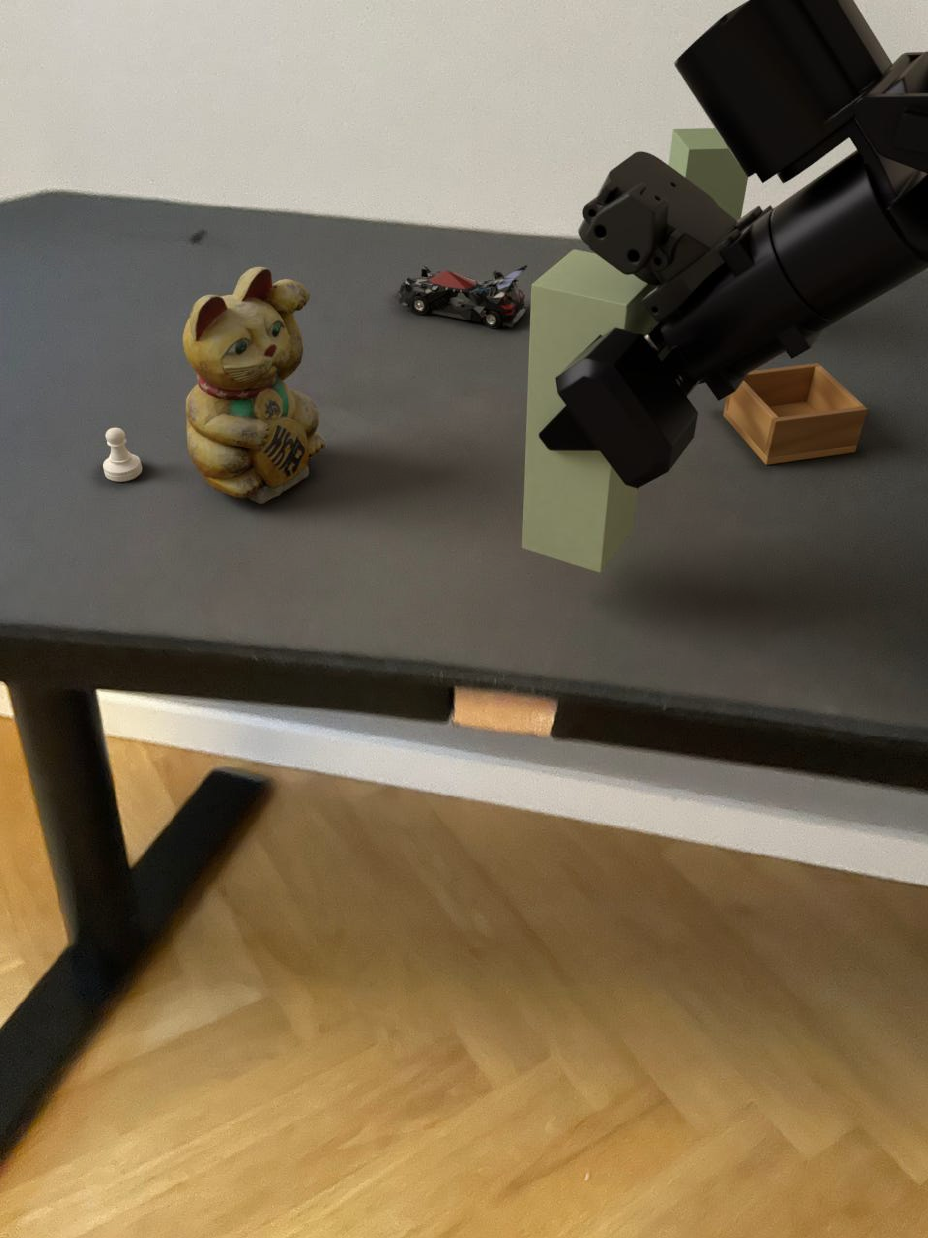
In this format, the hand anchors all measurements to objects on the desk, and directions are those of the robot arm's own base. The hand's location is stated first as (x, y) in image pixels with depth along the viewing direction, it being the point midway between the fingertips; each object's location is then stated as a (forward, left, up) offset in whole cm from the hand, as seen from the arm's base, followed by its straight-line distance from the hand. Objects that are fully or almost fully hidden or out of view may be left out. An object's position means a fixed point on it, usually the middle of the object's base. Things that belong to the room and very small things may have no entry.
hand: (565, 419), depth 58 cm
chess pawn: (+32, -5, -12) cm, 34 cm away
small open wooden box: (-14, -22, -12) cm, 29 cm away
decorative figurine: (+23, -7, -12) cm, 26 cm away
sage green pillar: (-1, 0, -8) cm, 8 cm away
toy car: (+16, -37, -12) cm, 42 cm away
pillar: (-4, -38, -12) cm, 40 cm away
